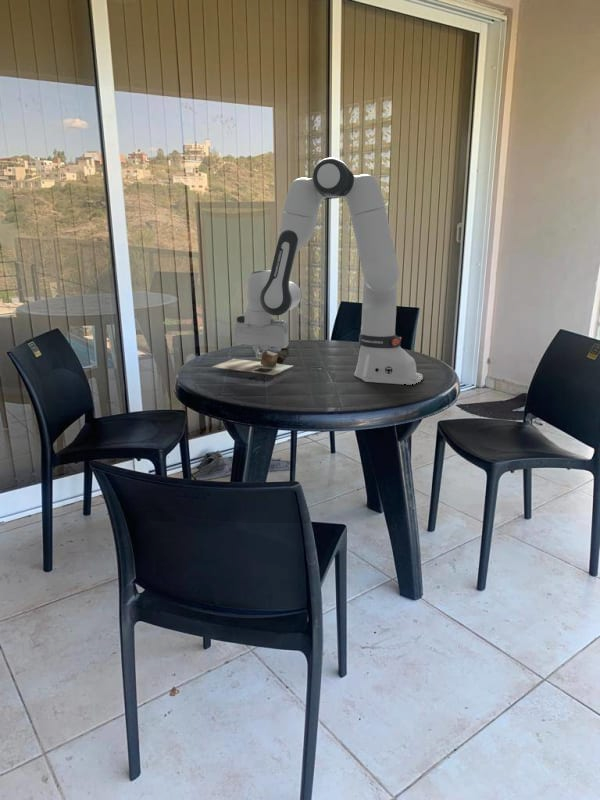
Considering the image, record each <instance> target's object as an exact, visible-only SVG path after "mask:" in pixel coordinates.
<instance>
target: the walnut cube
mask: <svg viewBox="0 0 600 800" xmlns="http://www.w3.org/2000/svg"><path fill="white" fill-rule="evenodd" d="M261 353H262V352H261ZM278 354H279V353H273V352H270V351H266V352H263V353H262V359H260V362H261V364H262V365H266V366H269V367H272V366H275V365H276V364H278V363H277V357H278Z"/></svg>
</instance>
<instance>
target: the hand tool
mask: <svg viewBox="0 0 600 800" xmlns="http://www.w3.org/2000/svg"><path fill="white" fill-rule="evenodd" d="M289 350H290V349H289V345H288V346H287V347H285V348H281V351H280V352H279V353H277V354H278V357H277V363H276V364H284V361H285V360H286V359H287V357H288V356H289V353H290V351H289Z"/></svg>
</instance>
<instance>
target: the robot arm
mask: <svg viewBox="0 0 600 800" xmlns="http://www.w3.org/2000/svg"><path fill="white" fill-rule="evenodd" d="M339 198H343V199H344V200H345V201H346V203H347V206H348V210H349V215H350V221H351V225H352V228H353V229H352V230H353V233H354V239H355V244H356V247H357V254H358V257H359V263H360V267H361V268H360V269H361V272H362V273H361V274H362V276H363V277H362V278H363V284H362V285H363V288H362V290H363V291H362V303H361V308H362V309H361V325H360V333H359V337H358V350H359V353H358V359H357V363H356V367H355V372H354V373H353V375H354V377H356V378H358V379H361V380H362V381H363V382H365V383H366V382H367V383H379V384H391V385H392V384H394V385H404V384H406V385H409V386H411V385H412V384H413V385H416V383H417V384H419V383H421V382H422V381H423V377H424V375H423V374H422V373H419V372H417V365H416V364H417V363H416V361H415V358H414V357H412V356H411V354H409V353H408V352H407V351H406V350H404V349H403V348H402V347H401V341H402V336H398V335H397V334H396V324H397V323H396V322H397V319H396V318H397V301H398V298H397V297H398V296H397V295H398V282H399V279H400V269H399V265H398V259H397V256H396V250H395V246H394V241H393V238H392V237H393V236H392V234H391V233H392V232H391V228H390V223H389V219H388V214H387V213H388V212H387V210H386V209H387V207H386V204H385V200H384V197H383V193H382V190H381V188H380V184H379V182H378V180H377V178H376V177H375V176H374V175H371V174H367V173H366V174H365V173H363V174H359V175H354V173H353V172H352V171H351V169H350V168H349V166H348V165H347V164H346V163H345V162H343V160H340V159H338V158H336V157H327V158H324V159H322V160H320V161H319V162H318V163H317V164H316V165H315V166H314V169H313V172H312V177H310V178H308V177H299V178H296V179H294V180H293V181H291V183H290V185H289V188H288V191H287V194H286V197H285V200H284V206H283V211H282V217H281V220H280V221H281V222H280V227H279V228H280V229H279V234H278V240H277V244H276V249H275V252H274V257H273V260H272V265H271V269H262V270H256V271H253V272H251V273H250V274H249V275H248V281H247V292H246V293H247V300H248V304H247V305H248V306H247V312H246V313H243V314H240V315H237V316H235V317H234V318H233V319H234V325H233V328H232V329H233V330H232V331H233V332H232V341H233V342H234V343H235V344H241V345H247V346H248V345H250V346H252V349H253V351H254V353H255V358H256V359H260V360H261V359H262V353H263V352H266V351H267V350H268V347H275V348H285V347H287V346H288V347H289V344H290V343H289V333H288V332H289V324H288V323H287V322H286V321H285V320H283V319H282V320H281V319H274V316H281V315H284V314H285V313H286V312H288V311H291V310H293V309H294V308H296V307H298V306H299V304H300V302H301V300H302V297H303V296H302V290H301V288H300V286H299V285H298V284H297V283H296V282H294V281H290V280H291V276H292V271H293V267H294V263H295V259H296V256H297V255H298V254H299V251H300V250H301V249H302V248H303V247H304V246H305V245H306V244H307V243H308V242H309V241H311V239H312V237H313V235H314V232H315V228H316V226H317V225H316V224H317V220H318V216H319V215H318V214H319V209H320V205H321V203H322V202H323V200H331V199H339ZM260 346H262V349H263V351H262V352H261V351H260V350H259V349H260ZM421 380H422V381H421ZM418 382H419V383H418Z"/></svg>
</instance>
